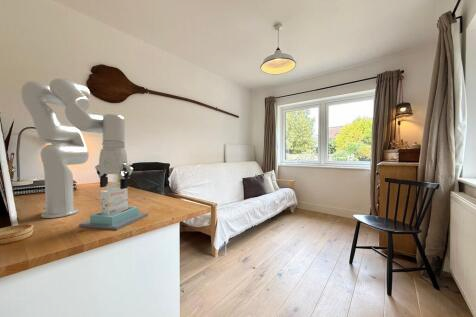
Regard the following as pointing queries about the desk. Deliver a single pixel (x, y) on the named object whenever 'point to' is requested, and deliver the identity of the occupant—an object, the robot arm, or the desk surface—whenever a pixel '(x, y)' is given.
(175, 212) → the desk surface
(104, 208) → the ink cartridge box
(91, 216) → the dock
